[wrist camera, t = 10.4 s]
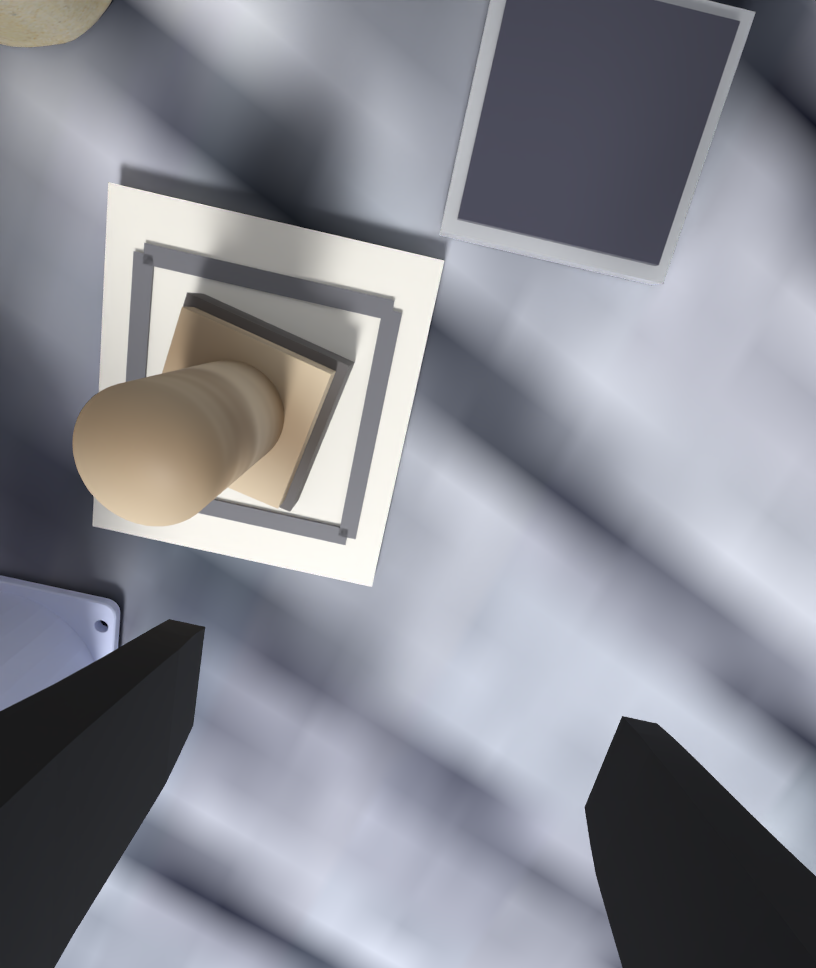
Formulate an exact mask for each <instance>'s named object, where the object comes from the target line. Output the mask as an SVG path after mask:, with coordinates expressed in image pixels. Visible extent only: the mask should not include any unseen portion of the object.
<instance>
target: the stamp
mask: <svg viewBox="0 0 816 968" xmlns="http://www.w3.org/2000/svg"><path fill="white" fill-rule="evenodd" d="M354 363H355V362H353V361H351V360H349V359H346V358H344V357H342V356H340V355H338V354H335V353H333V352H331V351H329V350H327V349H324V348H322V347H320V346H318V345H316V344H313V343H311V342H309V341H307V340H305V339H302V338H300V337H298V336H296V335H294V334H291V333H289V332H287V331H285V330H283V329H280V328H278V327H276V326H274V325H272V324H269V323H267V322H265V321H263V320H261V319H258V318H256V317H254V316H252V315H250V314H248V313H245V312H243V311H241V310H239V309H237V308H234V307H232V306H230V305H228V304H226V303H223V302H221V301H219V300H217V299H215V298H212V297H210V296H208V295H206V294H202V293H189V292H187V294H186V298H185V301H184V304H183V307H182V308H181V312H180V315H179V318H178V321H177V325H176V328H175V331H174V335H173V338H172V341H171V345H170V348H169V351H168V355H167V358H166V361H165V365H164V368H163V371H162V374H158V375H154V376H149V377H145V378H141V379H136V380H132V381H128V382H124V383H119V384H116V385H113V386H110V387H108V388H106V389H104V390H102V391H100V392H99V393H97V394H96V395H94V396H93V397H92V398H91V399H90V400H89V401H88V402H87V403H86V405H85V406H84V407H83V409H82V410H81V412H80V414H79V416H78V418H77V421H76V424H75V427H74V432H73V444H72V445H73V455H74V459H75V464H76V467H77V469H78V472H79V474H80V476H81V478H82V480H83V482H84V484H85V485H86V487H87V488H88V490H89V491H90V492H91V494H92V495H93V496H94V497H95V498H96V499H97V500H98V501H99V502H100V503H101V504H102V505H103V506H104V507H106V508H107V509H108V510H109V511H111V512H113V513H114V514H116V515H117V516H119V517H121V518H123V519H125V520H128V521H131V522H133V523H136V524H141V525H145V526H169V525H174V524H178V523H181V522H183V521H186V520H188V519H190V518H191V517H193V516H195V515H196V514H197V513H199V512H200V511H201V510H202V509H203V508H204V507H206V506H207V505H208V504H209V503H210V502H211V501H212V500H214V499H215V498H216V497H217V496H218V495H219V494H221V493H222V492H223V491H224V490H225V489H226V488H230V489H233V490H235V491H237V492H240V493H242V494H244V495H247V496H249V497H251V498H254V499H256V500H258V501H261V502H263V503H265V504H268V505H270V506H272V507H275V508H277V509H278V508H279V507H280V508H282V509H284V510H287V511H289V512H290V511H291V510H292V509H293V507H294V506H295V504H296V503H297V502H298V500H299V498H300V496H301V493H302V491H303V488H304V486H305V483H306V481H307V478H308V476H309V474H310V471H311V469H312V466H313V464H314V461H315V459H316V456H317V454H318V451H319V449H320V447H321V444H322V442H323V439H324V437H325V434H326V432H327V429H328V427H329V424H330V422H331V420H332V417H333V415H334V412H335V410H336V407H337V405H338V402H339V400H340V398H341V395H342V393H343V390H344V388H345V385H346V383H347V380H348V378H349V375H350V373H351V371H352V368H353V366H354Z"/></svg>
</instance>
